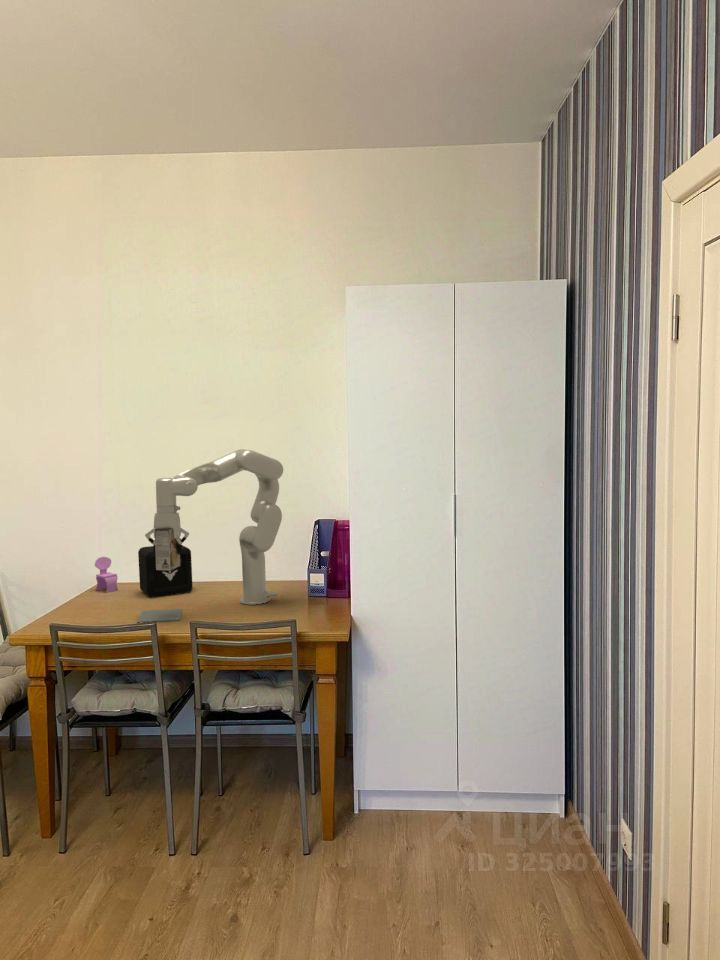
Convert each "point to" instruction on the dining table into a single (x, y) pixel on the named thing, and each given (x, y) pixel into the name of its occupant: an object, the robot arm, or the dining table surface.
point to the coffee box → (166, 550)
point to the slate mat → (160, 615)
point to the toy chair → (105, 575)
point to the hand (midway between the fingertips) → (167, 554)
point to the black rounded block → (164, 574)
